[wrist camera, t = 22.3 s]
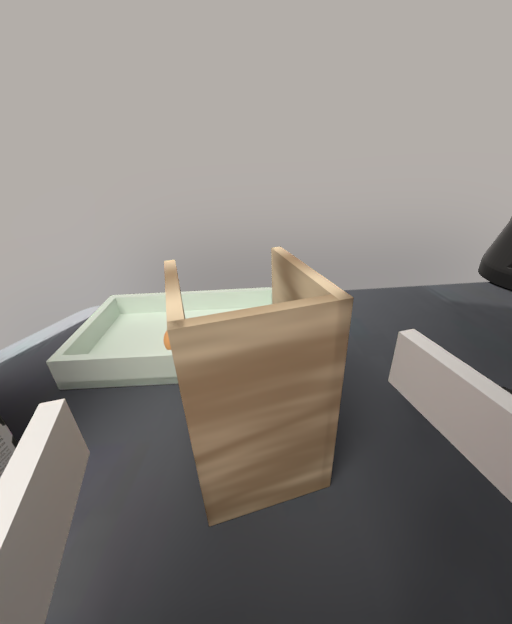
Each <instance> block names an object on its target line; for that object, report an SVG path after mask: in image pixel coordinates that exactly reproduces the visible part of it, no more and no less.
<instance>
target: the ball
mask: <svg viewBox="0 0 512 624" xmlns="http://www.w3.org/2000/svg"><path fill="white" fill-rule="evenodd" d="M163 340H164V345H165V348H166V349H167V350H171V346H170V342H169V337H168V332H167V331H166V332H165V334H164V339H163Z"/></svg>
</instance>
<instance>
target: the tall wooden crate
mask: <svg viewBox="0 0 512 624" xmlns="http://www.w3.org/2000/svg"><path fill="white" fill-rule="evenodd" d="M271 253H272V304H270V305H264V306H258V307H252V308H246V309H241V310H235V311H229V312H223V313H217V314H211V315H205V316H199V317H193V318H187V319H185V314H184V308H183V302H182V297H181V292H180V286H179V280H178V274H177V268H176V263H175V260H167V261H164V269H165V291H166V292H165V293H166V316H167V332H168V337H169V342H170V346H171V351H172V356H173V360H174V365H175V370H176V374H177V379H178V384H179V388H180V393H181V398H182V402H183V407H184V412H185V417H186V421H187V426H188V431H189V435H190V440H191V445H192V449H193V454H194V459H195V463H196V468H197V473H198V477H199V482H200V487H201V491H202V496H203V501H204V505H205V510H206V515H207V519H208V524H209V527H210V526H213V525H216V524H219V523H222V522H225V521H228V520H231V519H234V518H237V517H240V516H243V515H246V514H249V513H252V512H255V511H258V510H260V509H263V508H266V507H269V506H272V505H275V504H278V503H281V502H284V501H287V500H290V499H293V498H296V497H299V496H302V495H305V494H308V493H311V492H314V491H317V490H320V489H323V488H326V487H329V486H330V481H331V473H332V465H333V457H334V449H335V441H336V433H337V425H338V417H339V409H340V401H341V393H342V385H343V377H344V370H345V362H346V354H347V346H348V338H349V330H350V322H351V314H352V306H353V297H352V296H350V295H349V294H347V293H346V292H345V291H343V290H342V289H340V288H339V287H337V286H336V285H335V284H333V283H332V282H330V281H329V280H327V279H326V278H325V277H323V276H322V275H320V274H319V273H317V272H316V271H315V270H313V269H312V268H310V267H309V266H307V265H306V264H305V263H303V262H302V261H300V260H299V259H297V258H296V257H295V256H293V255H291V254H290V253H289V252H287V251H286V250H285V249H283V248H282V247H274V248H271Z"/></svg>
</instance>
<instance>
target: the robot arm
mask: <svg viewBox="0 0 512 624" xmlns="http://www.w3.org/2000/svg"><path fill="white" fill-rule="evenodd" d="M478 272H479V274H480V275H481V276H482V277H484V278H485V279H487V280H488V281H490V282H492V283H494V284H497V285H499V286H502V287H505V288H508V289H511V290H512V218H511V219H510V221H509V223H508V224H507V225H506V227H505V228H504V229H503V231H502V232H501V233H500V235H499V236H498V237H497V239H496V240H495V241H494V242H493V244H492V245H491V246H490V247H489V249H488V250H487V252H486V253H485V254H484V256H483V258H482V260H481V263H480V266H479V269H478ZM388 381H389V382H390V383H391V384H392V385H393V386H394V387H395V388H396V389H397V390H398V391H399V392H400V393H401V394H402V395H403V396H404V397H405V398H406V399H407V400H408V401H409V402H410V403H411V404H412V405H413V406H414V407H415V408H416V409H417V410H418V411H419V412H420V413H421V414H422V415H423V416H424V417H425V418H426V419H427V420H428V421H429V422H430V423H431V424H432V425H433V426H434V427H435V428H436V429H437V430H438V431H439V432H440V433H441V434H442V435H443V436H444V437H445V438H446V439H448V440H449V441H450V442H451V443H452V444H453V445H454V446H455V447H456V448H457V449H458V450H459V451H460V452H461V453H462V454H463V455H464V456H465V457H466V458H467V459H468V460H469V461H470V462H471V463H472V464H473V465H474V466H475V467H476V468H477V469H478V470H479V471H480V472H481V473H482V474H483V475H484V476H485V477H486V478H487V479H488V480H489V481H490V482H491V483H492V484H493V485H494V486H495V487H496V488H497V489H498V490H499V491H500V492H501V493H502V494H503V495H504V496H505V497H506V498H507V499H508V500H509V501H510V502H511V503H512V390H510V389H507V388H505V387H500V386H498V385H497V384H495V383H494V382H492V381H491V380H489V379H488V378H486V377H485V376H483V375H482V374H480V373H479V372H477V371H476V370H474V369H473V368H471V367H470V366H469V365H467V364H466V363H464V362H463V361H461V360H460V359H458V358H457V357H455V356H454V355H452V354H451V353H449V352H448V351H446V350H445V349H443V348H442V347H440V346H439V345H437V344H436V343H434V342H433V341H431V340H430V339H428V338H427V337H425V336H424V335H422V334H421V333H419V332H418V331H416V330H415V329H410V330H405V331H400V332H399V333H398V338H397V342H396V347H395V352H394V356H393V361H392V365H391V370H390V374H389V379H388ZM89 453H90V452H89V450H88V448H87V446H86V443H85V441H84V439H83V437H82V435H81V433H80V430H79V428H78V426H77V424H76V422H75V419H74V417H73V415H72V413H71V411H70V409H69V406H68V404H67V402H66V400H65V399H60V400H55V401H50V402H45V403H40V404H39V405H38V407H37V409H36V411H35V413H34V415H33V417H32V419H31V420H30V422H29V424H28V426H27V428H26V430H25V432H24V434H23V436H22V438H21V439H20V441H19V443H18V445H17V447H16V449H15V451H14V453H13V455H12V457H11V459H10V460H9V462H8V464H7V466H6V468H5V470H4V472H3V474H2V476H1V478H0V624H45V621H46V617H47V613H48V609H49V605H50V602H51V598H52V594H53V590H54V586H55V583H56V579H57V575H58V571H59V567H60V564H61V560H62V556H63V552H64V548H65V545H66V541H67V537H68V533H69V529H70V526H71V522H72V518H73V514H74V510H75V507H76V503H77V499H78V495H79V491H80V488H81V484H82V480H83V476H84V472H85V468H86V465H87V461H88V457H89Z"/></svg>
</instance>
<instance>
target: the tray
mask: <svg viewBox="0 0 512 624" xmlns="http://www.w3.org/2000/svg"><path fill="white" fill-rule="evenodd" d="M181 297H182V302H183V308H184V314H185V319H187V318H193V317H199V316H205V315H211V314H217V313H223V312H229V311H235V310H241V309H246V308H252V307H258V306H264V305H270V304H272V287H269V288H268V287H267V288H248V289H227V290H209V291H208V290H207V291H188V292H181ZM166 331H167V316H166V293H147V294H128V295H111V296H110V297H109V298H108V299H107V300H106V301H105V302H104V303H103V304H102V305H101V306H100V307H99V308H98V309H97V310H96V311H95V312H94V313H93V314H92V315H91V316H90V317H89V318H88V319H87V320H86V322H85V323H84V324H83V325H82V326H81V327H80V328H79V329H78V330H77V331H76V332H75V333H74V334H73V335H72V336H71V337H70V338H69V339H68V340H67V341H66V342H65V343H64V344H63V345H62V346H61V347H60V348H59V349H58V350H57V351H56V352H55V353H54V354H53V355H52V356H51V357H50V358H49V359H48V360H47V361H46V363H47V365H48V367H49V369H50V371H51V374H52V376H53V378H54V380H55V382H56V384H57V386H58V389H59V390H67V389H86V388H105V387H124V386H143V385H162V384H178V379H177V374H176V370H175V365H174V360H173V356H172V351H171V350H167V349H166V348H165V345H164V340H163V339H164V334H165V332H166Z"/></svg>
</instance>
